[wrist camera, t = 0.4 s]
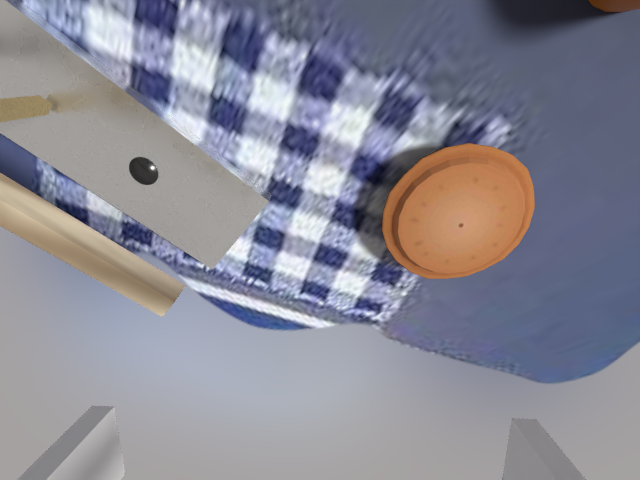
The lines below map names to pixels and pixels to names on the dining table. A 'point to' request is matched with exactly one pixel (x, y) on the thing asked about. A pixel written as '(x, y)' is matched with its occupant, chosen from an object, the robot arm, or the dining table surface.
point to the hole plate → (121, 141)
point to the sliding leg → (23, 107)
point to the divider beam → (84, 248)
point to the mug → (616, 5)
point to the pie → (458, 211)
